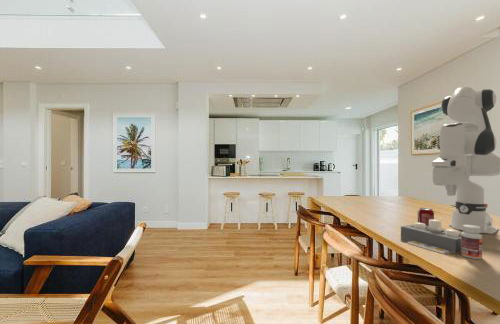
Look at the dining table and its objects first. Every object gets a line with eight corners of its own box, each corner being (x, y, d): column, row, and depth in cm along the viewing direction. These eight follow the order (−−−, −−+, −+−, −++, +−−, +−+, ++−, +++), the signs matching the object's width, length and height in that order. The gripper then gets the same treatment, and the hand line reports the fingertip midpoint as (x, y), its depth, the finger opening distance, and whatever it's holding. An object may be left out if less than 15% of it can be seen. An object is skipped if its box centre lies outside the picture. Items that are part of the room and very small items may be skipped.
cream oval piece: (417, 234, 123) (417, 222, 123) (427, 237, 119) (427, 224, 119) (411, 236, 121) (411, 223, 121) (421, 238, 117) (421, 225, 117)
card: (413, 242, 115) (413, 240, 115) (449, 252, 103) (449, 250, 103) (407, 243, 114) (407, 241, 114) (443, 253, 101) (443, 251, 101)
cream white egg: (432, 232, 117) (432, 219, 117) (443, 235, 113) (443, 221, 113) (426, 233, 115) (426, 219, 115) (437, 236, 111) (437, 222, 111)
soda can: (436, 235, 127) (436, 210, 127) (420, 234, 128) (421, 209, 128) (429, 231, 133) (430, 207, 133) (415, 230, 135) (415, 207, 135)
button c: (448, 242, 111) (448, 228, 111) (460, 246, 107) (461, 231, 107) (442, 244, 109) (442, 229, 109) (454, 247, 105) (455, 232, 105)
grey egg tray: (418, 234, 127) (418, 223, 127) (473, 249, 107) (473, 235, 107) (400, 238, 121) (400, 226, 121) (455, 253, 101) (455, 239, 101)
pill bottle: (483, 260, 94) (484, 229, 94) (462, 257, 98) (462, 226, 98) (480, 255, 100) (480, 225, 100) (459, 252, 103) (460, 223, 103)
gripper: (457, 161, 116) (456, 193, 116) (429, 162, 107) (429, 196, 107) (474, 162, 110) (473, 194, 111) (446, 162, 101) (446, 198, 102)
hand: (451, 195), depth 109 cm, fingers closed
